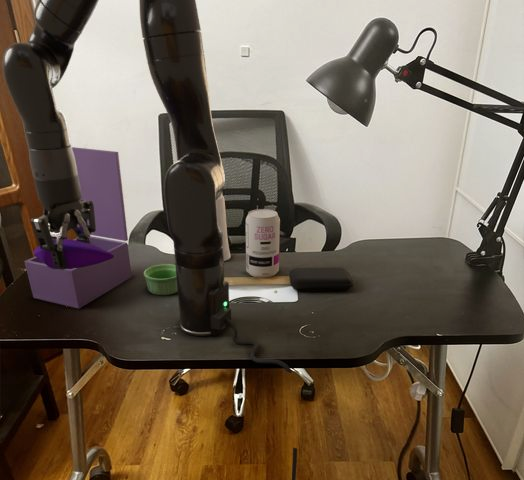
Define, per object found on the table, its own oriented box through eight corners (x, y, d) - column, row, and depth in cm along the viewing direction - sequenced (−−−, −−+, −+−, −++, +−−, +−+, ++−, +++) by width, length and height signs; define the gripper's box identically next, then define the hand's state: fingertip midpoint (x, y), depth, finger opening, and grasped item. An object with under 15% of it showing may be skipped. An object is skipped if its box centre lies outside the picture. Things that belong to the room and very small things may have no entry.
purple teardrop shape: (111, 248, 97) (27, 244, 95) (113, 272, 100) (31, 269, 98) (115, 239, 101) (34, 236, 100) (116, 263, 104) (38, 260, 102)
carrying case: (346, 274, 129) (287, 275, 129) (347, 263, 128) (287, 263, 127) (354, 293, 120) (290, 293, 120) (355, 280, 119) (291, 281, 118)
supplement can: (265, 263, 135) (265, 206, 128) (285, 273, 130) (287, 214, 122) (239, 270, 131) (238, 212, 123) (259, 281, 126) (259, 220, 118)
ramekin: (180, 278, 127) (178, 261, 124) (188, 293, 120) (187, 275, 117) (143, 283, 124) (141, 266, 122) (149, 299, 117) (147, 281, 115)
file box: (79, 308, 113) (71, 271, 108) (33, 297, 117) (24, 261, 113) (132, 276, 128) (127, 242, 123) (89, 268, 132) (83, 234, 128)
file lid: (116, 152, 113) (130, 149, 117) (68, 147, 117) (84, 144, 121) (126, 241, 122) (139, 235, 127) (82, 233, 127) (96, 228, 131)
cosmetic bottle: (216, 263, 135) (212, 177, 124) (203, 256, 139) (198, 172, 128) (235, 258, 139) (233, 173, 127) (222, 251, 143) (218, 169, 131)
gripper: (41, 184, 85) (63, 279, 93) (98, 166, 96) (113, 252, 105) (7, 180, 87) (31, 272, 96) (67, 163, 99) (83, 247, 107)
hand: (74, 262), depth 100 cm, fingers closed on purple teardrop shape, 6 cm apart
